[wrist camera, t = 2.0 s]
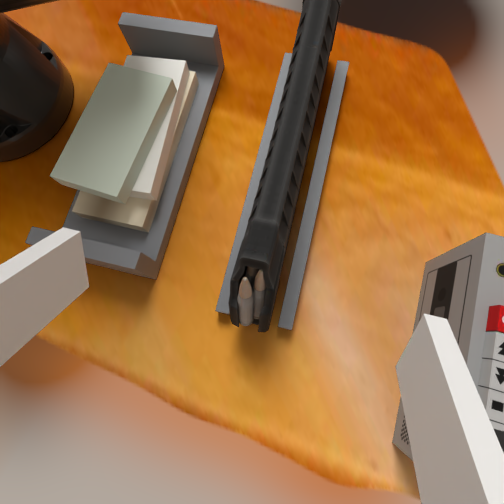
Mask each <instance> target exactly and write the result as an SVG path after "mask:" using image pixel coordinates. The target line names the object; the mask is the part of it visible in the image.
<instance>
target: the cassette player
mask: <svg viewBox="0 0 504 504" xmlns="http://www.w3.org/2000/svg"><path fill="white" fill-rule="evenodd" d="M423 314H428V315H433V316H437V317H441V318H445V319H447V320H448V323H449V325H450V327H451V330H452V332H453V335H454V337H455V339H456V342H457V344H458V346H459V349H460V351H461V353H462V356H463V358H464V361H465V363H466V365H467V368H468V370H469V372H470V375H471V377H472V379H473V382H474V384H475V386H476V389H477V391H478V394H479V396H480V398H481V401H482V403H483V405H484V408H485V410H486V412H487V415H488V417H489V420H490V422H491V424H492V427H493V428H494V429H497V430H501V431H504V237H502V236H498V235H494V234H490V233H484V234H482V235H480V236H478V237H476V238H474V239H472V240H470V241H468V242H466V243H464V244H462V245H460V246H458V247H456V248H454V249H452V250H450V251H448V252H446V253H444V254H442V255H440V256H438V257H436V258H434V259H432V260H430V261H428V262H426V264H425V270H424V275H423V281H422V286H421V291H420V297H419V302H418V307H417V313H416V318H415V323H414V329H413V333H414V331H415V329H416V327H417V325H418V323H419V321H420V320H421V318H422V316H423ZM412 335H413V334H412ZM392 443H393V444H394V445H395V446H396V447H398V448H399V449H400V450H401V451H402V452H403V453H404V454H405V455H406V456H408V457H409V458H410V459H411V460H412V461H413V457H412V452H411V446H410V441H409V436H408V430H407V425H406V420H405V414H404V409H403V404H402V398H400V404H399V409H398V414H397V420H396V425H395V431H394V436H393V441H392Z"/></svg>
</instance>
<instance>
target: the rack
mask: <svg viewBox="0 0 504 504" xmlns="http://www.w3.org/2000/svg"><path fill="white" fill-rule="evenodd" d="M118 25H119V27H120V29H121V31H122V33H123V35H124V37H125V39H126V41H127V43H128V45H129V47H130V49H131V51H132V55H131V56H142V57H153V58H163V59H174V60H184V61H186V63H187V66H188V69H189V71H194V72H196V75H197V79H198V82H199V85H198V88H197V91H196V94H195V97H194V100H193V103H192V106H191V109H190V112H189V115H188V118H187V121H186V123H185V126H184V129H183V132H182V135H181V138H180V141H179V144H178V147H177V150H176V153H175V156H174V159H173V162H172V165H171V168H170V171H169V174H168V177H167V180H166V183H165V186H164V189H163V192H162V195H161V198H160V201H159V204H158V207H157V210H156V213H155V216H154V219H153V222H152V225H151V228H150V231H149V233H148V232H144V231H139V230H135V229H131V228H126V227H122V226H117V225H113V224H109V223H104V222H100V221H95V220H91V219H87V218H82V217H80V216H79V215H77V214H75V213H74V212H72V210H73V207H74V205H75V202H76V200H77V197H78V195H79V192H80V190H77V192H76V195H75V197H74V200H73V202H72V205H71V207H70V210H69V212H68V215H67V217H66V220H65V222H64V225H63V227H64V228H68V229H72V230H76V231H80V232H81V238H82V245H83V251H84V257H85V263H90V264H94V265H98V266H102V267H106V268H110V269H114V270H118V271H122V272H126V273H130V274H135V275H139V276H143V277H147V278H151V279H155V280H156V279H157V276H158V273H159V269H160V266H161V263H162V260H163V257H164V254H165V251H166V248H167V244H168V241H169V238H170V235H171V232H172V229H173V226H174V222H175V219H176V216H177V213H178V210H179V207H180V204H181V200H182V197H183V194H184V191H185V188H186V185H187V182H188V179H189V175H190V172H191V169H192V166H193V163H194V160H195V157H196V153H197V150H198V147H199V144H200V141H201V138H202V135H203V131H204V128H205V125H206V122H207V119H208V116H209V113H210V110H211V106H212V103H213V100H214V97H215V94H216V91H217V88H218V84H219V81H220V78H221V75H222V72H223V69H224V61H223V56H222V50H221V45H220V39H219V34H218V29H217V25H210V24H203V23H196V22H189V21H182V20H175V19H168V18H160V17H153V16H146V15H139V14H132V13H125V12H123V13H122V16H121V18H120V20H119V23H118ZM291 57H292V54H291V53H285V55H284V59H283V63H282V66H281V70H280V74H279V77H278V81H277V85H276V89H275V92H274V96H273V100H272V103H271V107H270V111H269V114H268V118H267V122H266V126H265V129H264V133H263V137H262V140H261V144H260V148H259V151H258V155H257V159H256V162H255V166H254V170H253V174H252V177H251V181H250V185H249V188H248V192H247V196H246V199H245V203H244V207H243V211H242V214H241V218H240V222H239V225H238V229H237V233H236V236H235V240H234V244H233V247H232V251H231V255H230V259H229V262H228V266H227V270H226V273H225V277H224V281H223V284H222V288H221V292H220V296H219V299H218V303H217V307H216V310H215V311H217V312H221V313H225V314H229V315H230V311H229V304H228V302H229V297H230V280H231V277H232V273H233V270H234V266H235V263H236V260H237V256H238V253H239V250H240V246H241V243H242V240H243V238H244V235H245V232H246V228H247V225H248V220H249V217H250V214H251V211H252V207H253V204H254V199H255V197H256V193H257V190H258V186H259V181H260V178H261V175H262V172H263V168H264V164H265V159H266V157H267V153H268V149H269V146H270V145H269V144H270V141H271V138H272V134H273V130H274V126H275V121H276V118H277V114H278V110H279V105H280V102H281V98H282V94H283V90H284V85H285V82H286V78H287V74H288V70H289V69H288V68H289V65H290V62H291ZM348 65H349V62H345V61H339V60H338V61H337V65H336V70H335V74H334V79H333V83H332V88H331V92H330V96H329V101H328V105H327V110H326V114H325V119H324V123H323V128H322V132H321V137H320V141H319V146H318V150H317V154H316V159H315V163H314V168H313V172H312V177H311V181H310V186H309V190H308V195H307V199H306V204H305V208H304V212H303V217H302V221H301V226H300V230H299V235H298V239H297V244H296V248H295V253H294V257H293V261H292V266H291V270H290V275H289V279H288V284H287V288H286V293H285V297H284V302H283V306H282V311H281V315H280V319H279V324H278V327H280V328H284V329H288V330H292V327H293V322H294V317H295V313H296V308H297V303H298V299H299V294H300V289H301V285H302V280H303V275H304V271H305V266H306V261H307V257H308V252H309V247H310V243H311V238H312V233H313V229H314V224H315V219H316V215H317V210H318V205H319V201H320V196H321V191H322V187H323V182H324V177H325V173H326V168H327V163H328V159H329V154H330V149H331V145H332V140H333V135H334V131H335V126H336V121H337V117H338V112H339V107H340V103H341V98H342V93H343V88H344V84H345V79H346V74H347V70H348ZM63 227H62V228H63ZM53 233H54V231H50V230H46V229H41V228H37V227H33V226H32V228H31V230H30V233H29V235H28V237H27V240H26V242H25V243H27V244H30V245H32V246H33V245H34V244H36V243H38V242H39V241H41V240H43V239H44V238H46V237H48V236H49V235H51V234H53Z"/></svg>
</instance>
